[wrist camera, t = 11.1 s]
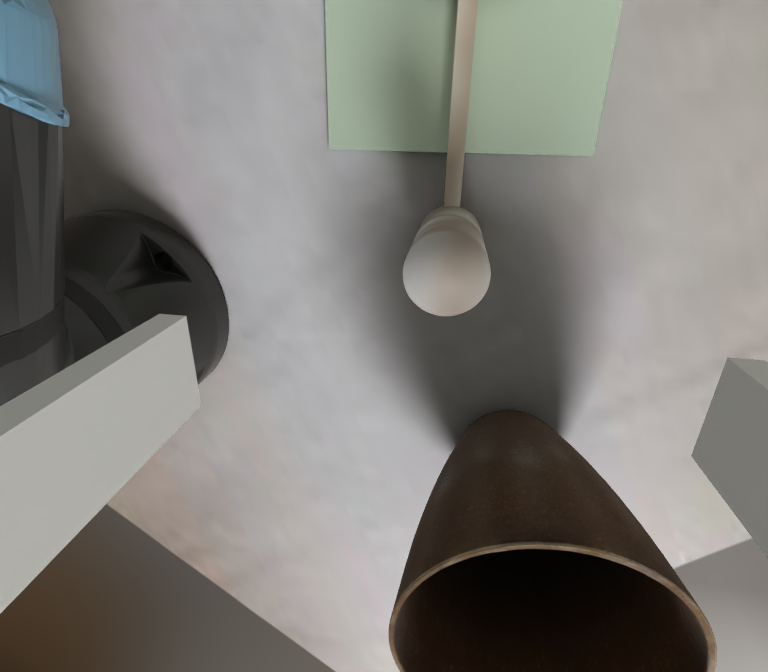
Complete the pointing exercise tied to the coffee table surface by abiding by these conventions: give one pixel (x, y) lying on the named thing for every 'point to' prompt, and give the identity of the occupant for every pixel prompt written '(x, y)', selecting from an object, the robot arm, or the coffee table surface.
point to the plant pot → (538, 568)
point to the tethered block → (451, 209)
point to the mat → (488, 79)
